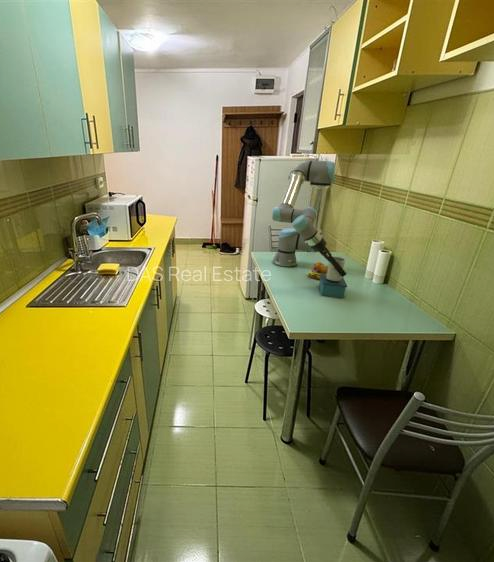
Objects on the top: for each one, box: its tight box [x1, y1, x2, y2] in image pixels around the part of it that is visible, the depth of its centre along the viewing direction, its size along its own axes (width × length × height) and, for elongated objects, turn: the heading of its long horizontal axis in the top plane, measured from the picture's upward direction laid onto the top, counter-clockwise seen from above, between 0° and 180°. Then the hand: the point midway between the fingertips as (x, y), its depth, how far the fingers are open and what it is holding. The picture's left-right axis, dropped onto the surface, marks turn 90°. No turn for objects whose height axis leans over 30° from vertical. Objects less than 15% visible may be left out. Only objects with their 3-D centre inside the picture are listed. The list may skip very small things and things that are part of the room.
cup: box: [326, 256, 346, 281], centre depth 159 cm, size 7×7×11 cm
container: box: [318, 274, 348, 298], centre depth 163 cm, size 13×12×7 cm
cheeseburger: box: [307, 261, 328, 280], centre depth 182 cm, size 10×11×10 cm
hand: (341, 272), depth 160 cm, fingers closed on cup, 7 cm apart
